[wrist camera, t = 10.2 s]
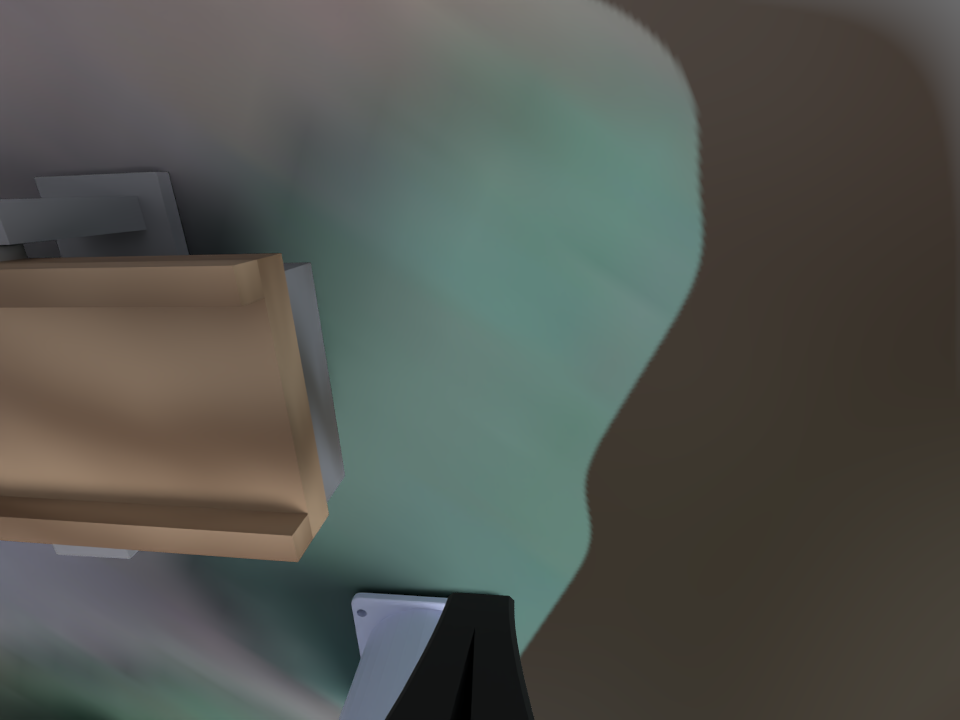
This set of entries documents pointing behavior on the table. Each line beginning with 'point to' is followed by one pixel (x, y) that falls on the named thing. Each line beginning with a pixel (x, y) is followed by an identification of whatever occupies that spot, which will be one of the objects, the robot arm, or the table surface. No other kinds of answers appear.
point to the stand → (98, 235)
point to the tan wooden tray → (164, 404)
